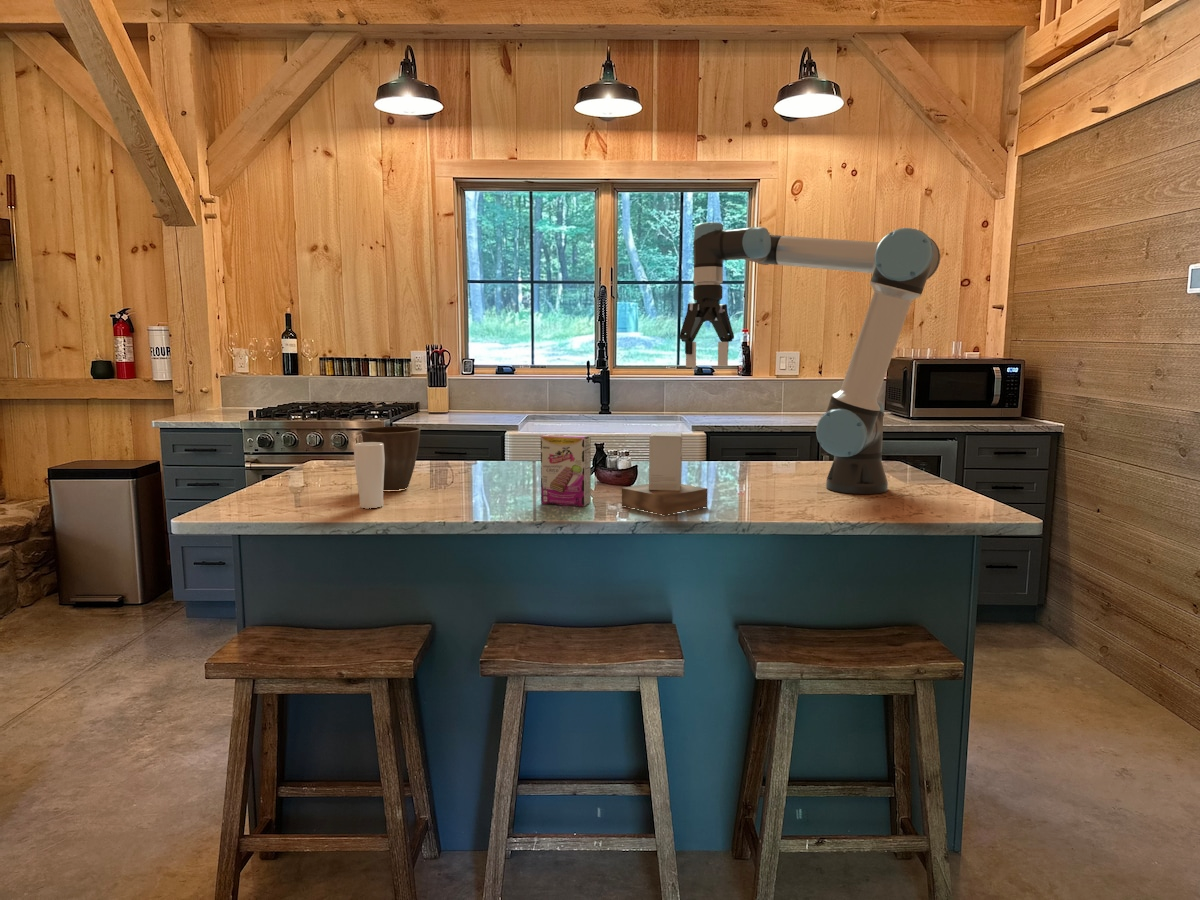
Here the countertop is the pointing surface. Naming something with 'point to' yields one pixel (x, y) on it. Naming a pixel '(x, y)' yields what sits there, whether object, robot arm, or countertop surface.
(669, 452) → the supplement box
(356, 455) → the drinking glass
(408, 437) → the plant pot
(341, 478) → the countertop surface
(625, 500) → the walnut base block
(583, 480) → the candy bar box
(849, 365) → the robot arm
